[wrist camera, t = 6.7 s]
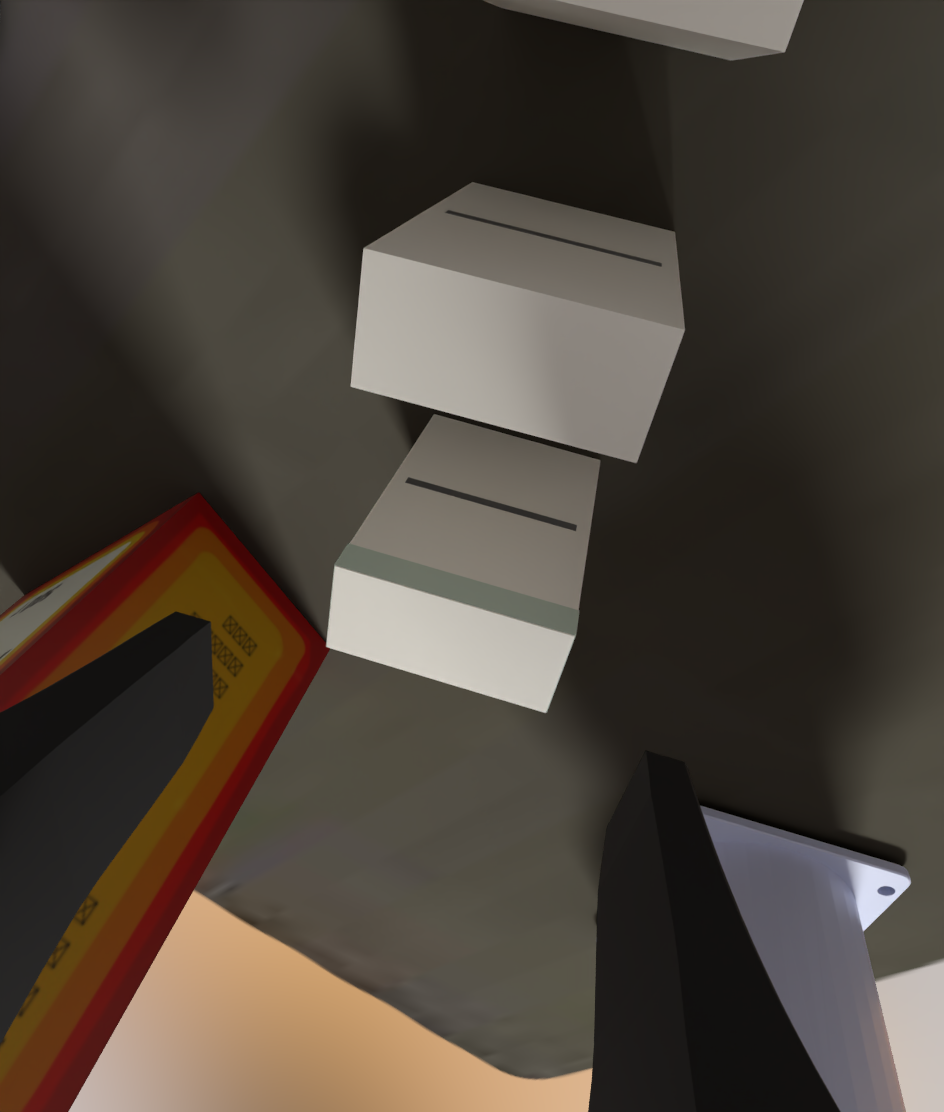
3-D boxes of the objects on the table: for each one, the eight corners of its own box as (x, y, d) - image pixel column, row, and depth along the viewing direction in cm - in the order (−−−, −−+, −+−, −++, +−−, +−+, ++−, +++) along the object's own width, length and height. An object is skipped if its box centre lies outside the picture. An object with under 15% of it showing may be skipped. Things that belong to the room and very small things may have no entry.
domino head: (579, 525, 19) (546, 714, 14) (421, 480, 20) (325, 647, 14) (601, 459, 18) (576, 635, 13) (433, 413, 19) (333, 564, 13)
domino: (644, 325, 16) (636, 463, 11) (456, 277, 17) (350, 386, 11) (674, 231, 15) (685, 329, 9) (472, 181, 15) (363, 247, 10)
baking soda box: (151, 719, 28) (-279, 1271, 15) (24, 595, 26) (-618, 1128, 13) (330, 648, 24) (-56, 1330, 11) (198, 492, 22) (-496, 1132, 9)
